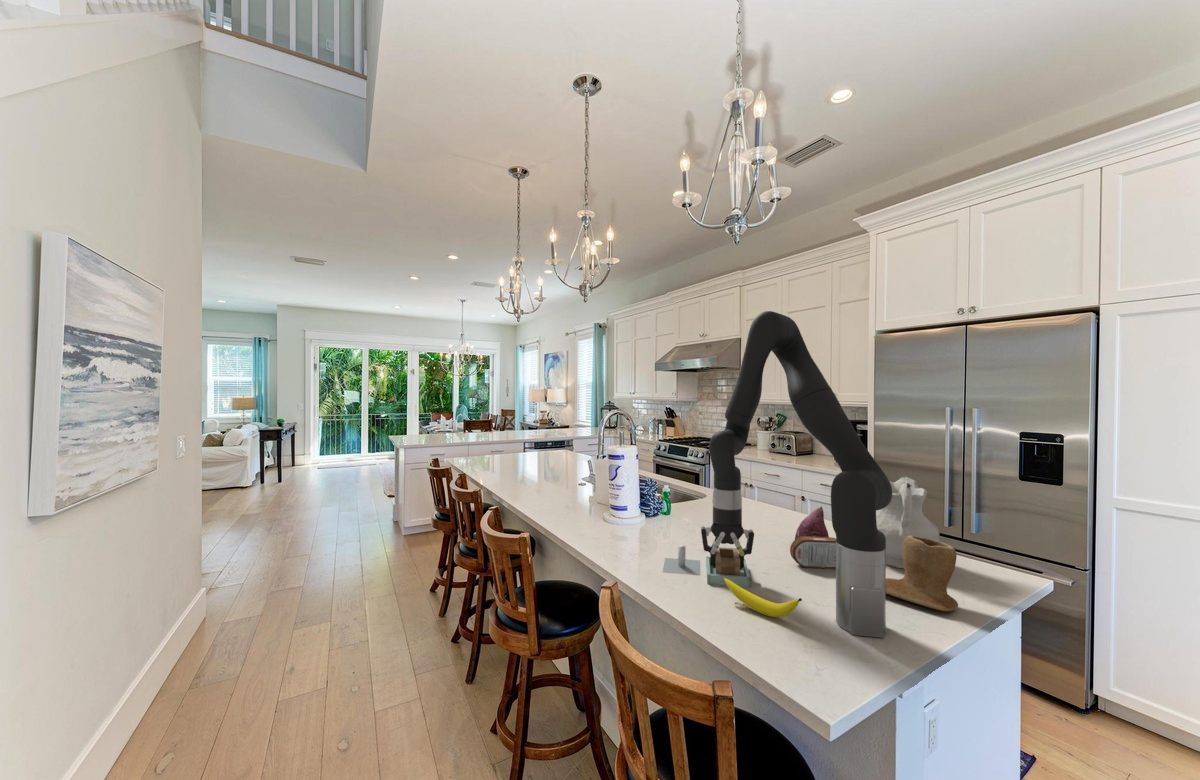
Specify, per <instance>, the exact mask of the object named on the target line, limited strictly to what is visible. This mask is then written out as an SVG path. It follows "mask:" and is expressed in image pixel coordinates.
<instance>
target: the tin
mask: <svg viewBox="0 0 1200 780" xmlns="http://www.w3.org/2000/svg"><path fill="white" fill-rule="evenodd" d="M789 549H790V550H789V552H790V556H791V558H792V559H793V560H794V561H795V562H796V563H797V564H798V565H799V566H800V567H804V568H811V569H831V570H834V569H835V570H836V537H831V536H829V537H811V536H802V537H799V538H797V539H795V538H794V540H793V541H792V542H791V544H790V548H789Z"/></svg>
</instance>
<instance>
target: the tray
mask: <svg viewBox="0 0 1200 780" xmlns="http://www.w3.org/2000/svg"><path fill="white" fill-rule="evenodd" d="M705 567H706V568H705V571H706V584H707V585H717V586H719V585H720V586H727V584H726V583H725V580H724V578H726V579H728V580H730V581H732V582H733V583H735V584H736V585H738V586H739V587H741V588H751V587H752V586H751V585H752V583H751V575H750V572H749V571H750V570H749V568H748V565H747V561H746V559H745V558H744V567H743V568H741V570H740V576H737V575H724V574H716V568H713V566H712V565H711V564H710V556H706V557H705Z"/></svg>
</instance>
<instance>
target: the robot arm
mask: <svg viewBox="0 0 1200 780" xmlns="http://www.w3.org/2000/svg"><path fill="white" fill-rule="evenodd" d="M748 331H749V332H748V334H747V340H746V344H745V347H744V352H743V357H742V361H741V365H740V369H739V370H740V371H739V372H738V373H739V374H738V378H737V381H736V383H735V387H734V389H733V392H732V394H731V396H730V400H729V402H728V405H727V407H726V410H725V413H724V418H725V419H726V420H727V421H726V424H725V427H724V429H723V430H719V431H716V432H715V433H713V435H712V436H711V438H710V441H709V445H708V446H709V449H708V451H709V456H710V461H711V465H712V470H713V490H712V491H713V492H712V525H710V526H708V527H706V526H701V527H700V534H701V539H702V541H701V542H702V546H703V550H704V552H708V553H709V555H710V556H709V557H710V564H711V565H712V566H713V568H716V554H715V552H716V550H717V548H718V547H720V545H721V544H724V545H727V544H728V545H735V548H736V549H737V550H738V554H739V557H740V570H741V568H743V567H744V559H745V556H747V555H751V554H752V552H753V544H754V537H755V532H754V530H753V529H752V528H751V529H744V527H743V525H742V524H743V496H742V473H741V470H740V468H739V467H738V466H736V461H735V456H738V455H739V454H741V452H742V451H743V450H744V448H745V446H746V444H747V442H748V438H749V433H750V431H751V430H750V428H751V423H752V421H753V419H754V417H755V413H756V412H757V408H758V406H759V403H760V401H761V397H762V391H763V375H764V369H765V365H766V362H767V361H768V358H769V356H770V354H771V353H773V354H774V355H775V357H776V358H777V360H778V362H779V363H780V364H781V367H782V368H783V370H784V373H785V377H786V383H787V392H788V397H789V401H790V403H791V405H792V407H793V409H794V411H795V413H796V416H798V418H799V420H800V422H801V424H802V425H803V426H804V428H805V429H806V430H807V431H808V432H809V433H810V434H811V435H812V436H813V437H814V438H815V439H816V440H817V441H818V442H819V443H820V444H821V445H822V446H824V448H825V449H827V450H828V452H829V453H830V454H831V455H832V456H833V458H834V460H835V461H836V463H837V465H838V467H839V469H840V471H841V472H840V473H838V474H836V476H835V477H834V478H833V481H832V483H831V487H830V510H831V524H832V528H833V531H834V533H835V538H836V569H835V622H836V624H837V625H838V626H839V627H840V628H842V629H843V630H845V631H847V632H849V633H850V634H851V635H853V636H862V637H863V636H865V637H872V638H882V639H884V638H885V634H886V631H887V630H886V628H887V625H886V622H887V621H886V620H887V619H886V618H887V616H886V615H887V611H886V608H887V607H886V604H887V603H886V601H887V600H886V599H887V597H886V596H887V595H886V578H887V577H886V576H887V575H886V572H887V571H886V565H887V564H886V538H885V535H884V534H883V533H882V532H881V531H879V530H878V529H877V522H876V511H877V510H880V509H883V508H885V507H886V506H888V505H889V503H890V502H891V499H892V487H891V484H890V482H889V480H890V479H889V478H888V476H887V475H886V473H885V472H884V471H883V469H882V468H881V467H880V465H879V464H878V463H877V461H876V460H875V459H874V457H873V456H872V455H871V452H869V450H868V449H867V447H866V446H865V445H864V443H863V441H862V440H861V438H860V436H859V434H858V433H857V431H856V430H855V427H854V426H853V424H852V423H851V421H850V419H849V417H848V416H847V414H846V412H845V411H844V409H843V407H842V405H841V403H840V401H839V400H838V398H837V396H836V394H835V393H834V392H833V389H832V388H831V386H830V384H829V383H828V382H827V380H826V378H825V376H824V375H823V373H822V372H821V370H820V368H819V366H818V365H817V364H816V362H815V360H814V359H813V357H812V356H811V354H810V352H809V349H808V347H807V345H806V343H805V340H804V338H803V336H802V333H801V331H800V329H799V327H798V325H797V323H796V322H795V320H793V319H792V318H791V317H789V316H787V315H785V314H782V313H779V312H775V311H771V310H766V311H763V312H760V313H759V314H757V315H756V316H755V318H754V319H753V320H752V321H751V325H750V327H749V330H748ZM710 533H712V535H713V536H714V540H713V542H712V544H711V545H709V543H708V537H709V536H710ZM743 535H744V536H745V538H746V545H745V547H744V548H743V546H742V544H741V542H740V538H741V537H742V536H743Z"/></svg>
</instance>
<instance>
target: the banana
mask: <svg viewBox="0 0 1200 780" xmlns="http://www.w3.org/2000/svg"><path fill="white" fill-rule="evenodd" d="M724 580H725V583H726V584H727V585H726V586H727V589H729V590H730V591H731V593H732V595H733V596H735V597H736V599H738V600H739V601H740V602H742V603H743V604H745V605H746V606H747V607H749V608H750V609H752V610H753V611H755V612H756V613H757V612H758V613H760V614H762V615H764V616H768V617H771V618H772V617H773V618H782V617H783V618H784V617H785V616H787V615H789V614H790V613H792V612H793V611H794V610H795V609H796V607H797V606H798V605H799V603H800V602H801V601H802V598H801V597H800V598H799V599H792V600H789V601H786V602H781V603H777V602H773V601H770V600H767V599H764V598H762V597H760V596H758V595H756V594H754V593H752V592H750V591H748V590H747V589H745V588H744V587H740V586H738V585H736V584H735V583H733V582H732V581H730V580H728V579H726V578H724Z"/></svg>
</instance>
